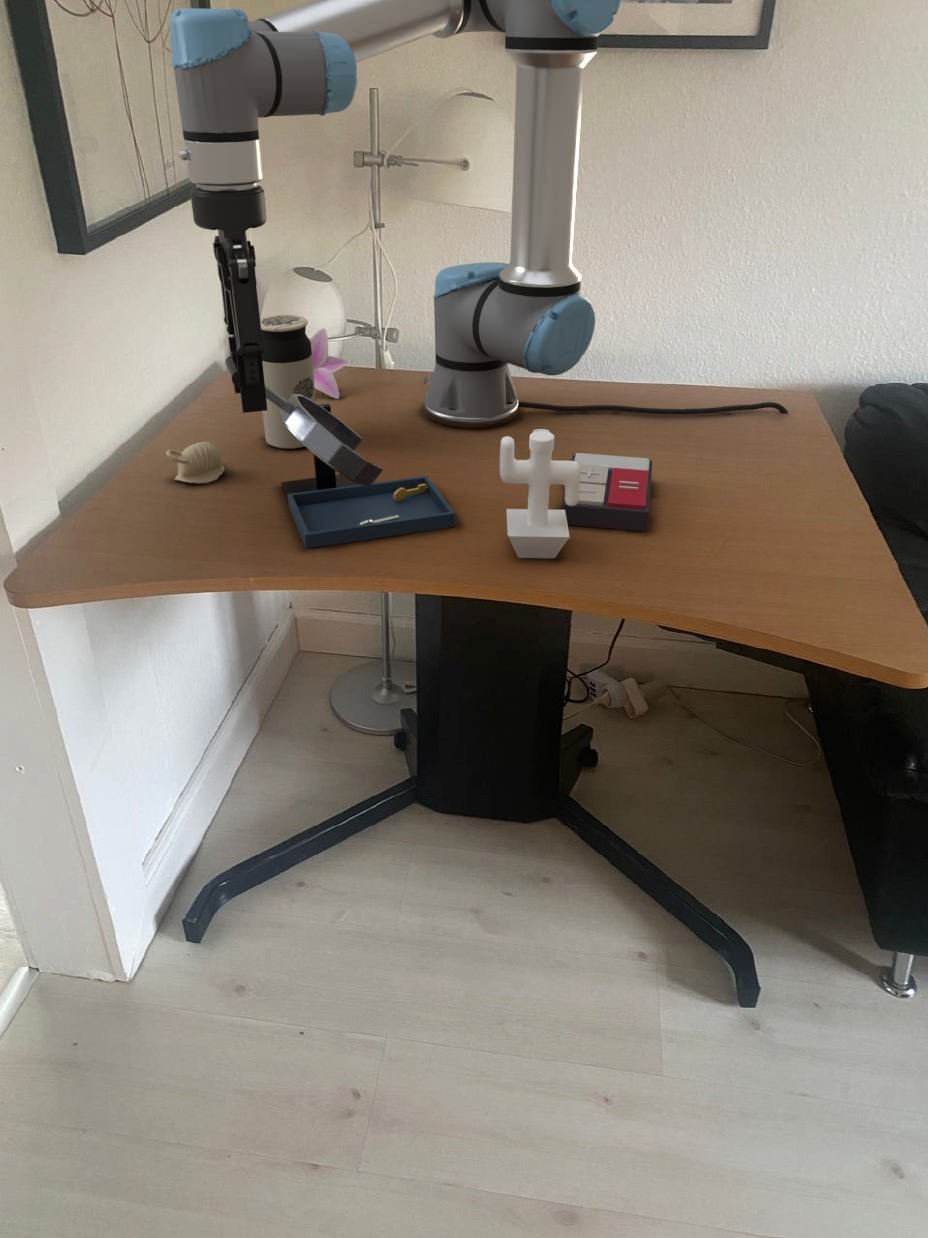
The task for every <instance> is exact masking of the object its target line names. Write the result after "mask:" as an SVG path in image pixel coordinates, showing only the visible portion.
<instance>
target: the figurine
mask: <svg viewBox="0 0 928 1238" xmlns="http://www.w3.org/2000/svg"><path fill="white" fill-rule="evenodd" d="M528 439H529V441H528V449H529V451H530V455H529V458H528V459H516V458H515V439H513V437H511V436H509V435H506V436H503V437H502V438H501V440H500V443H499V444H500V447H499V476H500V479H501V481H502V482H503V483H505V484H510V485H511V484H512V485H513V484H514V485H517V484H518V485H528V492H527V493H528V494H527V508H506V525H507V529H506V530H507V537H508V539H509V541H510V544H511V545H512V548H513V549H514V552H515V553H516V555H517V558H519V559H556V557H557V556H558V554H559V553H560V551H561V550H562V549H563V547H564V546H565V544H566V543H567V542H568V540H570V531H569V525H568V524H567V519H566V513H565V510H561V509H549V505H550V487H551V485H563V486H564V491H565V502H566V504H567V505H569V506H575V505H576V504H577V503H578V499H579V486H580V468H579V465H578V464H577V463H576V462H574V461H571V460H552V456H553V455H552V453H553V451H554V449H555V434H553V433H551V432H550V430H549V429H543V428H537V429H533V430H532V433H530V434H529V437H528Z"/></svg>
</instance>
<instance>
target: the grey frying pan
mask: <svg viewBox="0 0 928 1238" xmlns="http://www.w3.org/2000/svg"><path fill="white" fill-rule="evenodd" d="M224 365H225V368H226V370H227V373H228V374H229V378H230V380H231V383H232V384H233V386H234V385H235V386H238V387H240V385H239V376H238V368H237V359H236V357H232V356H230V355H229V356H227V357H226V359H225V361H224ZM265 392H266V398H267V399H268V400H270V401H271V402H273V403H274V404H276V405H277V406H278V407H280V408H281V411H280V414H281V416H282V420H283V422H284V424H285V425H286V427H287V428H288V429H289V431H290V432H291V433H292V434H293V435H294V436H295V437H296V438H297V439H298V440H299V441H300V442H301V443H302V444H303V445H304V446H305V447H304V448H306V449H307V450H308V451H309V452H311V453H312V455H313V454H314V455H316V456H317V457H318V458H319V459H321V460H322V461H323V462H324V463H326V464H327V465H328V466H330V467H331V468H332V469H334V470H335V472H337V473H338V474H339V475H343V476H344V477H346V478H347V479H349V480H351V481H353V482H355V483H357V484H359V485H362V486H367V487H370V486H371V484H372V483H375V482H376V479H377V478H378V477H379V476H380V474H381V473H382V472H383V471H384V469H383V468H382V467H381V466H379V465H377V464H375V463H373V462H371V461H370V460H367V459H365V458H364V457H363V456H361V455H360V454H358V453H357V452H356V451H355V450H356V449H357V448H358V447H359V446H360V444H361V443H362V441H363V440H364V438H363V437H362V436H360V435H359V434H358V433H357V432H356V431H354V430H353V429H352V428H351V427H349V426H348V425H347V424H346V423H345V422H344V421H342V420H341V419H340V418H338V417H337V416H335V415H334V414H333V413H332V412H331V413H330V412H329V411H327V410H326V409H325V408H323V407H322V406H320V405H321V404H320V403H318V402H317V401H316V402H314V401H312V400H310V399H309V398H307V397H305V396H303V395H302V394H293V395H292V396H291V397H290V399H289V400H288V401H287V400H285V399H284V398H282V397H281V396H280V395H278V394H277V393H275V392H274V391H272V390H271V389H270V388H268V387H267V386H265ZM314 455H313V456H314Z"/></svg>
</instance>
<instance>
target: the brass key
mask: <svg viewBox="0 0 928 1238" xmlns="http://www.w3.org/2000/svg"><path fill="white" fill-rule="evenodd" d="M427 488H428V487H427V486H426V484H420V485H418V486H417V488H413V489H408V490H406V489H405V488H402V487H401V488H399V489H397V490H396V491H395V493H394V495H393V498H394V500H395V501H401V500H403V499H404V498H405V496H410V495H415V494H419V493H424V492H426V491H427Z"/></svg>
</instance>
